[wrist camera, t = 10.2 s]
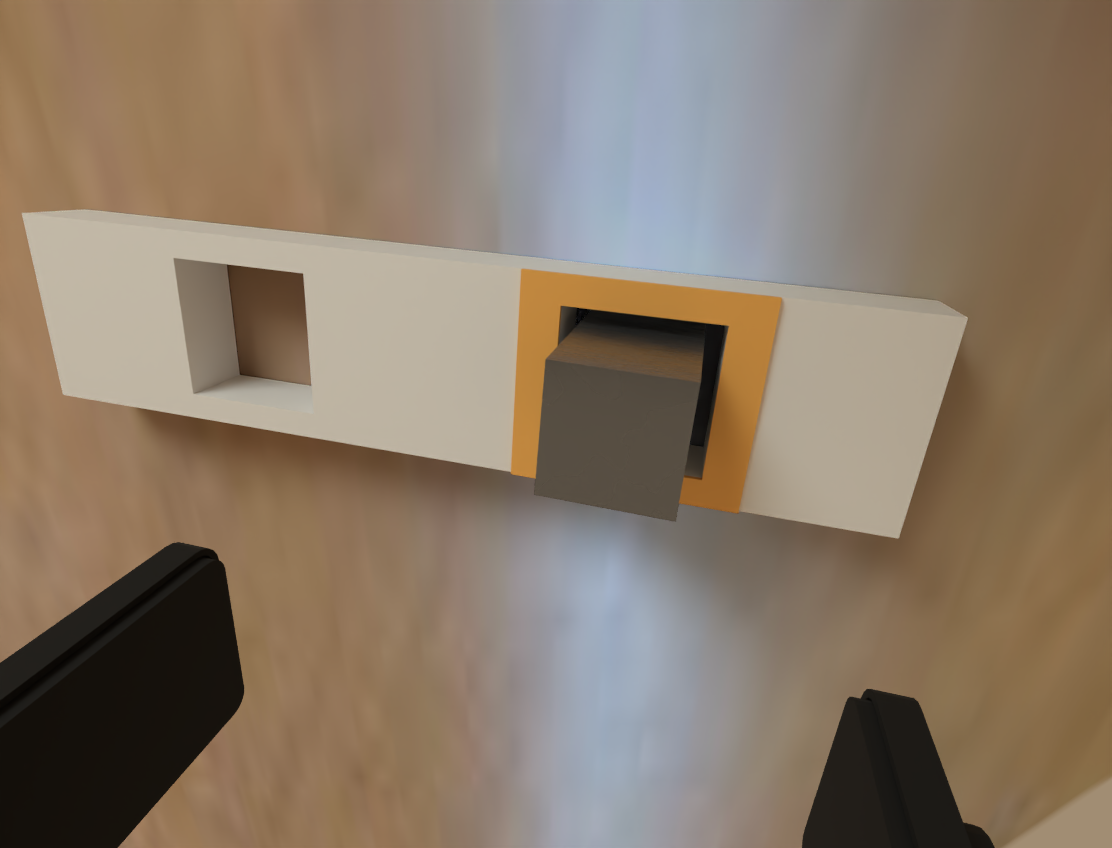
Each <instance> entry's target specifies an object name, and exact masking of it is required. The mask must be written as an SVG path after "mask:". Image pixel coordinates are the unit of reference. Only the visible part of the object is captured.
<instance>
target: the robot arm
mask: <svg viewBox="0 0 1112 848" xmlns="http://www.w3.org/2000/svg"><path fill="white" fill-rule="evenodd" d="M243 695H244V684H243V678H242V671H241V665H240V659H239V653H238V646H237V640H236V634H235V628H234V621H233V615H232V609H231V603H230V596H229V590H228V584H227V578H226V571H225V567H224V564H223V563H222V562H221V561H219V559H218V556H217V554H216V553H215V552H214V550H211V549H208V548H204V547H199V546H194V545H190V544H185V543H180V542H178V543H172V544H170V545H168V546H166V547H165V548H164V549H162V550H161V551H159V552H158V553H156V554H155V555H154V556H152V557H151V558H149V559H148V560H146V561H145V562H144V563H142V564H141V565H139V566H138V567H136V568H135V569H134V570H132V571H131V572H129V573H128V574H126V575H125V576H124V577H122V578H121V579H119V580H118V581H116V582H115V583H114V584H112V585H111V586H109V587H108V588H106V589H105V590H104V591H102V592H101V593H99V594H98V595H96V596H95V597H94V598H92V599H91V600H89V601H88V602H87V603H85V604H84V605H82V606H81V607H79V608H78V609H77V610H75V611H74V612H72V613H71V614H69V615H68V616H67V617H65V618H64V619H62V620H61V621H59V622H58V623H57V624H55V625H54V626H52V627H51V628H49V629H48V630H47V631H45V632H44V633H42V634H41V635H39V636H38V637H37V638H35V639H34V640H32V641H31V642H29V643H28V644H27V645H25V646H24V647H22V648H21V649H19V650H18V651H17V652H15V653H14V654H12V655H11V656H9V657H8V658H7V659H5V660H4V661H2V662H1V663H0V848H118V847H119V846H120V844H121V843H122V842H123V841H124V840H125V839H126V838H127V836H128V835H129V834H130V833H131V832H132V831H133V829H134V828H135V827H136V826H137V825H138V824H139V823H140V821H141V820H142V819H143V818H144V817H145V816H146V815H147V813H148V812H149V811H150V810H151V809H152V808H153V807H154V805H155V804H156V803H157V802H158V801H159V800H160V799H161V797H162V796H163V795H164V794H165V793H166V792H167V791H168V789H169V788H170V787H171V786H172V785H173V784H174V783H175V781H176V780H177V779H178V778H179V777H180V776H181V775H182V773H183V772H184V771H185V770H186V769H187V768H188V767H189V765H190V764H191V763H192V762H193V761H194V760H195V759H196V757H197V756H198V755H199V754H200V753H201V752H202V751H203V749H204V748H205V747H206V746H207V745H208V744H209V743H210V741H211V740H212V739H213V738H214V737H215V736H216V735H217V733H218V732H219V731H220V730H221V729H222V728H223V727H224V725H225V724H226V723H227V722H228V721H229V720H230V719H231V717H232V716H233V715H234V714H235V712H236V711H237V710H238V708H239V706H240V704H241V702H242V699H243ZM802 848H995V847H994V845H993V843H992V842H991V840H990V838H989V836H988V835H987V834H986V833H985V832H984V831H983V830H982V828H980V827H977V826H975V825H971V824H967V823H963V821H962V818H961V816H960V813H959V810H958V807H957V805H956V802H955V799H954V797H953V794H952V791H951V788H950V786H949V783H948V780H947V777H946V775H945V772H944V769H943V767H942V764H941V761H940V758H939V756H938V753H937V750H936V747H935V745H934V742H933V739H932V737H931V734H930V731H929V728H928V726H927V723H926V720H925V717H924V715H923V712H922V709H921V707H920V705H919V703H918V701H916V700H915V699H914V698H910V697H906V696H901V695H896V694H891V693H887V692H882V691H877V690H873V689H866V691H865V692H864V693H863V695H862V697H861V699H860V698H855V697H849V698H848V699H847V702H846V704H845V707H844V710H843V713H842V716H841V719H840V722H839V726H838V729H837V732H836V735H835V738H834V741H833V744H832V747H831V750H830V753H829V756H828V759H827V763H826V766H825V769H824V772H823V775H822V778H821V781H820V784H819V787H818V790H817V793H816V796H815V800H814V803H813V806H812V809H811V812H810V815H809V818H808V821H807V824H806V827H805V831H804V835H803V842H802Z"/></svg>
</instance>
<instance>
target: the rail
mask: <svg viewBox="0 0 1112 848" xmlns="http://www.w3.org/2000/svg"><path fill="white" fill-rule="evenodd" d="M22 216H23V220H24V225H25V229H26V234H27V238H28V242H29V247H30V251H31V256H32V260H33V264H34V269H35V273H36V277H37V282H38V286H39V291H40V295H41V299H42V304H43V308H44V313H45V317H46V321H47V326H48V330H49V335H50V339H51V343H52V348H53V352H54V357H55V361H56V365H57V370H58V374H59V379H60V383H61V387H62V392H63V395H68V396H74V397H79V398H85V399H91V400H97V401H103V402H108V403H114V404H120V405H126V406H132V407H137V408H143V409H149V410H155V411H161V412H166V413H172V414H178V415H184V416H190V417H195V418H201V419H207V420H213V421H219V422H224V423H230V424H236V425H242V426H248V427H254V428H259V429H265V430H271V431H277V432H283V433H288V434H294V435H300V436H306V437H312V438H317V439H323V440H329V441H335V442H341V443H346V444H352V445H358V446H364V447H370V448H375V449H381V450H387V451H393V452H399V453H404V454H410V455H416V456H422V457H428V458H433V459H439V460H445V461H451V462H457V463H462V464H468V465H474V466H480V467H486V468H491V469H497V470H503V471H509V472H511V474H513V475H518V476H524V477H530V478H536V467H537V455H538V443H539V431H540V419H541V407H542V395H543V383H544V371H545V359H546V358H547V357H548V356H549V355H550V354H551V353H552V352H553V351H554V350H555V348H556V347H557V346H558V345H559V344H560V343H561V342H562V341H563V340H564V339H565V338H566V337H567V336H568V335H569V334H570V332H571V331H572V330H573V329H574V328H575V326H576V315H577V308H585V309H593V310H601V311H610V312H618V313H626V314H635V315H643V316H651V317H660V318H668V319H676V320H685V321H693V322H701V323H709V324H718V325H725V327H724V333H723V339H722V345H721V350H720V356H719V362H718V368H717V374H716V379H715V385H714V391H713V397H712V403H711V408H710V414H709V420H708V426H707V431H706V437H705V443H704V447H701V446H694V445H689V450H688V456H687V461H686V467H685V472H684V478H683V484H682V489H681V495H680V500H679V503H680V504H686V505H692V506H697V507H703V508H709V509H715V510H721V511H726V512H732V513H738V512H739V511H741V512H747V513H753V514H758V515H764V516H770V517H776V518H782V519H787V520H793V521H799V522H805V523H811V524H816V525H822V526H828V527H834V528H840V529H845V530H851V531H857V532H863V533H869V534H874V535H880V536H886V537H892V538H898V539H899V536H900V533H901V529H902V526H903V523H904V520H905V517H906V514H907V510H908V507H909V504H910V501H911V498H912V495H913V491H914V488H915V485H916V482H917V479H918V475H919V472H920V469H921V466H922V463H923V460H924V456H925V453H926V450H927V447H928V444H929V441H930V437H931V434H932V431H933V428H934V425H935V422H936V418H937V415H938V412H939V409H940V406H941V402H942V399H943V396H944V393H945V390H946V387H947V383H948V380H949V377H950V374H951V371H952V368H953V364H954V361H955V358H956V355H957V352H958V348H959V345H960V342H961V339H962V336H963V333H964V329H965V326H966V323H967V320H968V317H966V316H964V315H962V314H961V313H959V312H957V311H956V310H954V309H952V308H950V307H949V306H947V305H945V304H944V303H942V302H940V301H938V300H928V299H919V298H910V297H900V296H891V295H882V294H872V293H863V292H854V291H844V290H835V289H826V288H816V287H807V286H798V285H788V284H779V283H769V282H760V281H751V280H741V279H732V278H723V277H713V276H704V275H695V274H685V273H676V272H667V271H657V270H648V269H639V268H629V267H620V266H611V265H601V264H592V263H582V262H573V261H564V260H554V259H545V258H536V257H526V256H517V255H508V254H498V253H489V252H480V251H470V250H461V249H452V248H442V247H433V246H424V245H414V244H405V243H395V242H386V241H377V240H367V239H358V238H349V237H339V236H330V235H321V234H311V233H302V232H293V231H283V230H274V229H265V228H255V227H246V226H237V225H227V224H218V223H208V222H199V221H190V220H180V219H171V218H162V217H152V216H143V215H134V214H124V213H115V212H106V211H96V210H87V209H85V210H67V211H50V212H32V213H22ZM227 264H228V265H237V266H245V267H253V268H262V269H270V270H278V271H287V272H295V273H303V277H304V290H305V304H306V317H307V331H308V344H309V358H310V371H311V385H312V386H309V385H303V384H296V383H290V382H283V381H277V380H271V379H264V378H258V377H251V376H245V375H240V372H239V364H238V355H237V347H236V338H235V330H234V321H233V313H232V304H231V296H230V287H229V279H228V270H227Z"/></svg>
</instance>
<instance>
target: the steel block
mask: <svg viewBox="0 0 1112 848" xmlns="http://www.w3.org/2000/svg"><path fill="white" fill-rule="evenodd" d="M705 330H706V323H701V322H693V321H685V320H676V319H668V318H660V317H651V316H643V315H635V314H626V313H618V312H610V311H601V310H593V309H592V310H591V311H590V312H589V313H588V314H587V315H586V316H585V318H584V319H583V320H582V321H581V322H580V323H579V324H578V325H577V326H576V327H575V328H574V329H573V330H572V331H571V332H570V334H569V335H568V336H567V337H566V338H565V339H564V340H563V341H562V342H561V343H560V344H559V345H558V346H557V347H556V348H555V350H554V351H553V352H552V353H551V354H550V355H549V356H548V357H547V358H546V359H545V371H544V383H543V395H542V407H541V419H540V431H539V443H538V455H537V467H536V479H535V491H534V495H539V496H545V497H550V498H555V499H560V500H565V501H571V502H576V503H581V504H586V505H591V506H597V507H602V508H607V509H612V510H618V511H623V512H628V513H633V514H638V515H644V516H649V517H654V518H659V519H665V520H670V521H675V522H676V517H677V511H678V506H679V500H680V495H681V489H682V484H683V478H684V472H685V467H686V461H687V456H688V450H689V445H690V439H691V434H692V428H693V423H694V417H695V412H696V406H697V400H698V395H699V389H700V384H701V374H702V363H703V352H704V341H705Z"/></svg>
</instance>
